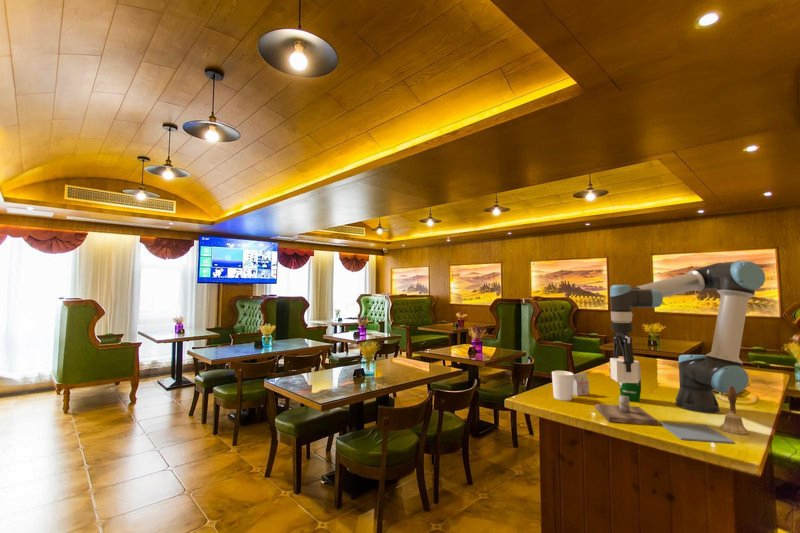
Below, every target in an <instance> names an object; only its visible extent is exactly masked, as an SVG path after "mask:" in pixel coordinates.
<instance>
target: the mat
mask: <svg viewBox="0 0 800 533" xmlns="http://www.w3.org/2000/svg"><path fill="white" fill-rule="evenodd" d="M658 425H660V426H662V427H663V428H665V429H666V430H667V431H668V432H669V433H671V434H673V435H674V436H675V437H677V438H678V439H680V440H681V441H694V442H707V443H708V442H709V443H717V444H718V443H720V444H731V445H732V444H733V445H734V444H735V441H734V440H732V439H730V438H728V437H727V436H725V435H723V434H722V433H720V432H718V431H717V430H716V429H714V428H712V427H710V426H708V425H706V424H696V423H695V424H694V423H691V424H690V423H679V422H678V423H676V422H665V421H658Z"/></svg>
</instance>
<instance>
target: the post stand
mask: <svg viewBox="0 0 800 533" xmlns="http://www.w3.org/2000/svg"><path fill="white" fill-rule="evenodd" d="M618 403H619V404H618V405H617V404H601V403H595V410H596V411H597V412H598V413H600V415H601V416H602V417H604V418H605V420H606V421H607V422H608V423H614V422H621V423H620V424H628V423H636V424H635V425H643V424H648V425H647V426H659V421H658V419H656V418H655V417H653V416H652V414H650V413H648V412H647V411H646V410H644V409H643V408H641V407H640V406H634V405H632V406H631V405H630V401H629V397H628V396H623V395H621V394H620V395H619V396H618Z"/></svg>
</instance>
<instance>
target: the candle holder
mask: <svg viewBox="0 0 800 533" xmlns="http://www.w3.org/2000/svg"><path fill="white" fill-rule="evenodd" d="M573 380H574V373H573V372H571V371H566V370H553V371H551V381H552V382H551V383H552V391H553V392H552V393H553V398H554V399H555V400H558V401H563V402H568V401H569V402H570V401H573V398H574V395H573Z"/></svg>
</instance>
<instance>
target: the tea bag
mask: <svg viewBox="0 0 800 533" xmlns="http://www.w3.org/2000/svg"><path fill="white" fill-rule="evenodd" d="M573 374H574V373H573ZM573 396H576V397H581V396H590V383H589V379H588V376H587V373H578V374H577V373H576V374H574V380H573Z"/></svg>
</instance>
